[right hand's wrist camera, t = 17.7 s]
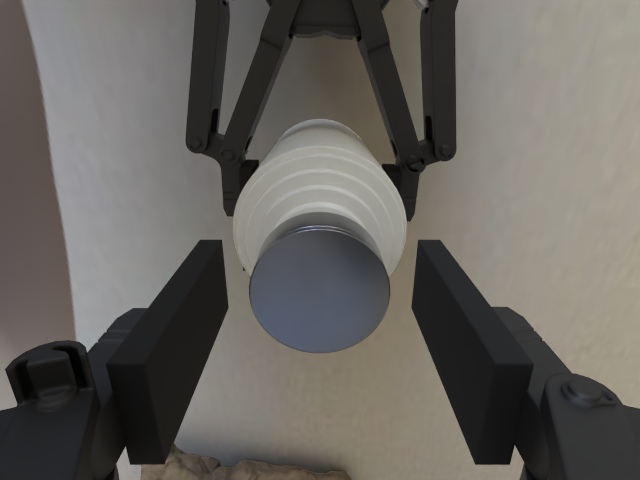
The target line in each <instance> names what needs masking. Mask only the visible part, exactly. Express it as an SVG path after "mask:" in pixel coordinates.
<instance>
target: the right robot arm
mask: <svg viewBox="0 0 640 480" xmlns="http://www.w3.org/2000/svg"><path fill="white" fill-rule="evenodd" d="M227 310H228V298H227V288H226V277H225V267H224V257H223V247H222V240H200V241H199V242H198V243H197V245H196V246H195V247H194V249H193V250H192V251H191V252H190V254H189V255H188V256H187V258H186V259H185V260H184V262H183V263H182V264H181V266H180V267H179V268H178V269H177V271H176V272H175V273H174V275H173V276H172V277H171V279H170V280H169V281H168V283H167V284H166V285H165V287H164V288H163V289H162V290H161V292H160V293H159V294H158V296H157V297H156V298H155V300H154V301H153V302H152V304H151V305H150V306H149V308H133V309H131V310H129V311H128V312H126V313H125V314H123V315H122V316H120V317H118V318H117V319H116V320H115V321H114V322H113V324H112V325H111V326H110V327H109V328H108V329H107V332H106V333H104V334H103V335H102V336H101V337H100V339H99V340H98V343H95V344H94V346H93V347H92V348H91V349H90V350H89V351H88V353H87V351H86V347H85V346H84V345H82V344H81V343H80V342H76V341H70V340H67V341H55V342H52V343H48V344H44V345H40V346H38V347H36V348H33V349H31V350H29V351H26V352H25V353H23V354H22V355H20V356H19V357H17V358H16V359H14V360H13V361H12V362H11V363H10V364H9V365H8V367H7V368H6V369H5V370H6V373H7V376H8V379H9V382H10V384H11V387H12V390H13V393H14V395H15V398H16V401H17V404H18V405H17V407H14V408H10V409H6V410H1V411H0V480H119V475H118V469H117V465H116V463H117V461H118V459H119V457H120V455H121V454H122V452H123V450H124V448H125V446H126V449H127V453H128V457H129V461H130V465H165V462H166V460H167V458H168V455H169V453H170V450H171V448H172V445H173V443H174V440H175V438H176V435H177V433H178V430H179V428H180V426H181V423H182V421H183V418H184V416H185V413H186V411H187V408H188V406H189V403H190V401H191V399H192V396H193V394H194V391H195V389H196V386H197V384H198V381H199V379H200V376H201V374H202V371H203V369H204V367H205V364H206V362H207V359H208V357H209V354H210V352H211V349H212V347H213V344H214V342H215V339H216V337H217V335H218V332H219V330H220V327H221V325H222V322H223V320H224V317H225V315H226V312H227ZM412 310H413V312H414V315H415V317H416V320H417V322H418V325H419V327H420V330H421V332H422V335H423V337H424V339H425V342H426V344H427V347H428V349H429V352H430V354H431V357H432V359H433V362H434V364H435V367H436V369H437V371H438V374H439V376H440V379H441V381H442V384H443V386H444V389H445V391H446V394H447V396H448V399H449V401H450V403H451V406H452V408H453V411H454V413H455V416H456V418H457V421H458V423H459V426H460V428H461V430H462V433H463V435H464V438H465V440H466V443H467V445H468V448H469V450H470V453H471V455H472V458H473V460H474V462H475V465H510V461H511V457H512V453H513V449H514V445H515V446H516V448H517V450H518V452H519V453H520V455H521V457H522V459H523V461H524V465H523V469H522V473H521V477H520V480H640V409H638V408H633V407H629V406H625V405H623V404H622V403H621V401H620V400H619V398H618V397H617V396H616V394H615V393H613V392H612V391H611V390H609V389H608V388H607V387H606V386H604V385H603V384H601V383H599V382H597V381H595V380H593V379H591V378H588V377H585V376H581V375H578V374H573V373H571V371H570V370H569V369H568V368H567V367H566V366H565V365H564V363H563V362H562V361H561V360H560V359H559V358H558V356H557V355H556V354H555V353H554V352H553V351H552V350H551V348H550V347H549V346H548V345H547V344H546V343H545V341H542V338H541V337H540V336H539V335H538V333H537V332H536V331H534V329H533V328H532V326H531V325H530V324H529V323H528V322H527V321H526V320H525V318H524V317H522V316H521V315H519V314H518V313H516V312H514V311H513V310H511V309H510V308H508V307H491V306H490V305H489V304H488V302H487V301H486V300H485V298H484V297H483V296H482V294H481V293H480V292H479V290H478V289H477V288H476V287H475V285H474V284H473V283H472V281H471V280H470V279H469V277H468V276H467V275H466V273H465V272H464V271H463V269H462V268H461V267H460V266H459V264H458V263H457V262H456V260H455V259H454V258H453V256H452V255H451V254H450V252H449V251H448V250H447V249H446V247H445V246H444V245H443V243H442V242H441V241H440V240H418V247H417V257H416V267H415V277H414V288H413V298H412Z"/></svg>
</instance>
